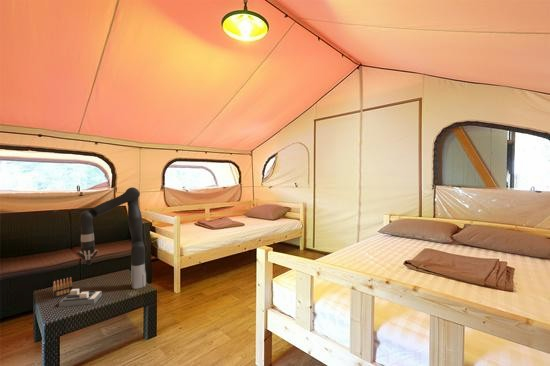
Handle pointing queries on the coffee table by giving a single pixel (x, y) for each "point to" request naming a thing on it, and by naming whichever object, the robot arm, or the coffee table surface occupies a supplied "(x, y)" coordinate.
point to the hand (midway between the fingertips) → (88, 264)
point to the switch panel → (80, 299)
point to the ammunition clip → (62, 288)
